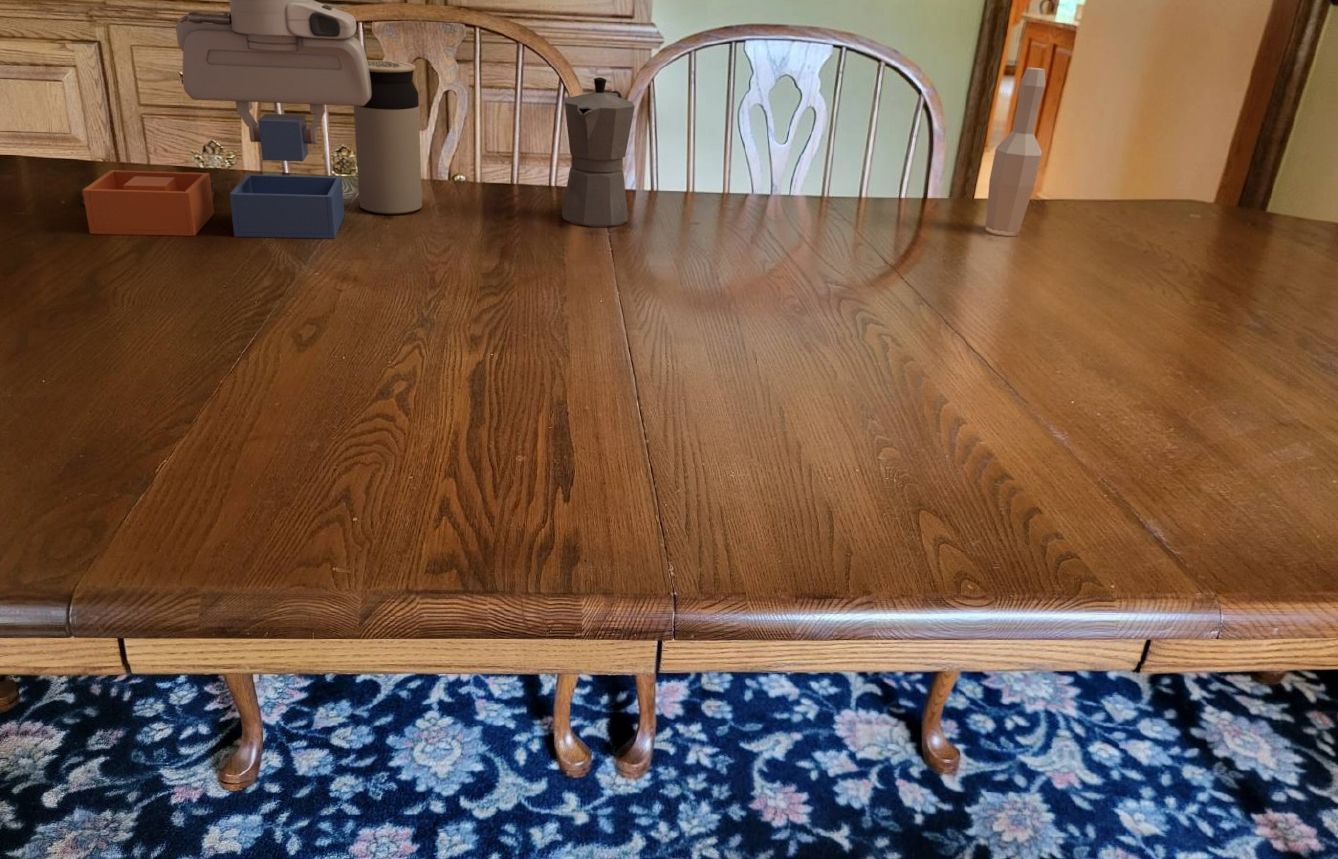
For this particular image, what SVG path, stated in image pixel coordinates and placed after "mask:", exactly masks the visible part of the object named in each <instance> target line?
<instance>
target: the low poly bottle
mask: <svg viewBox="0 0 1338 859" xmlns="http://www.w3.org/2000/svg"><path fill="white" fill-rule="evenodd" d="M1045 88H1046V71H1045V68H1040V67H1029V66H1028V67H1027V68H1026V70H1025V72H1024V74H1023V76H1022V78H1021V79H1020V81H1019V86H1018V95H1017V104H1016V110H1015V115H1014V121H1013V125H1012V130H1011V132H1009V133H1008V135H1006V136H1005V137H1004V139H1002V141H1001V142H1000V143H999V144H998V145H997V146H996V147H995V150H994V151H995V152H994V156H993V161H992V166H991V170H990V176H989V182H988V194H987V195H988V196H987V206H986V220H985V228H986V227H988V228H990V229H992V230H998V231H1005V232H1019V233H1020V230H1021V227H1022V224H1023V220H1024V218H1025V215H1026V212H1027V210H1028V206H1029V203H1030V201H1031V197H1032V194H1033V191H1034V188H1035V185H1036V183H1037V177H1038V173H1039V169H1040V164H1041V158H1042V154H1043V151H1042V150H1041V147H1040V145H1039V142H1038V140H1037V138H1036V136H1035V133H1034V132H1035V127H1036V122H1037V118H1038V114H1039V108H1040V106H1041V101H1042V100H1043V99H1042V98H1043V95H1044V92H1045ZM985 232H987V233H989V234H991V235H995V236H1002V237H1019V234H1018V235H1002V234H995V233H992V232H990V231H988V230H986V229H985Z"/></svg>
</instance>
